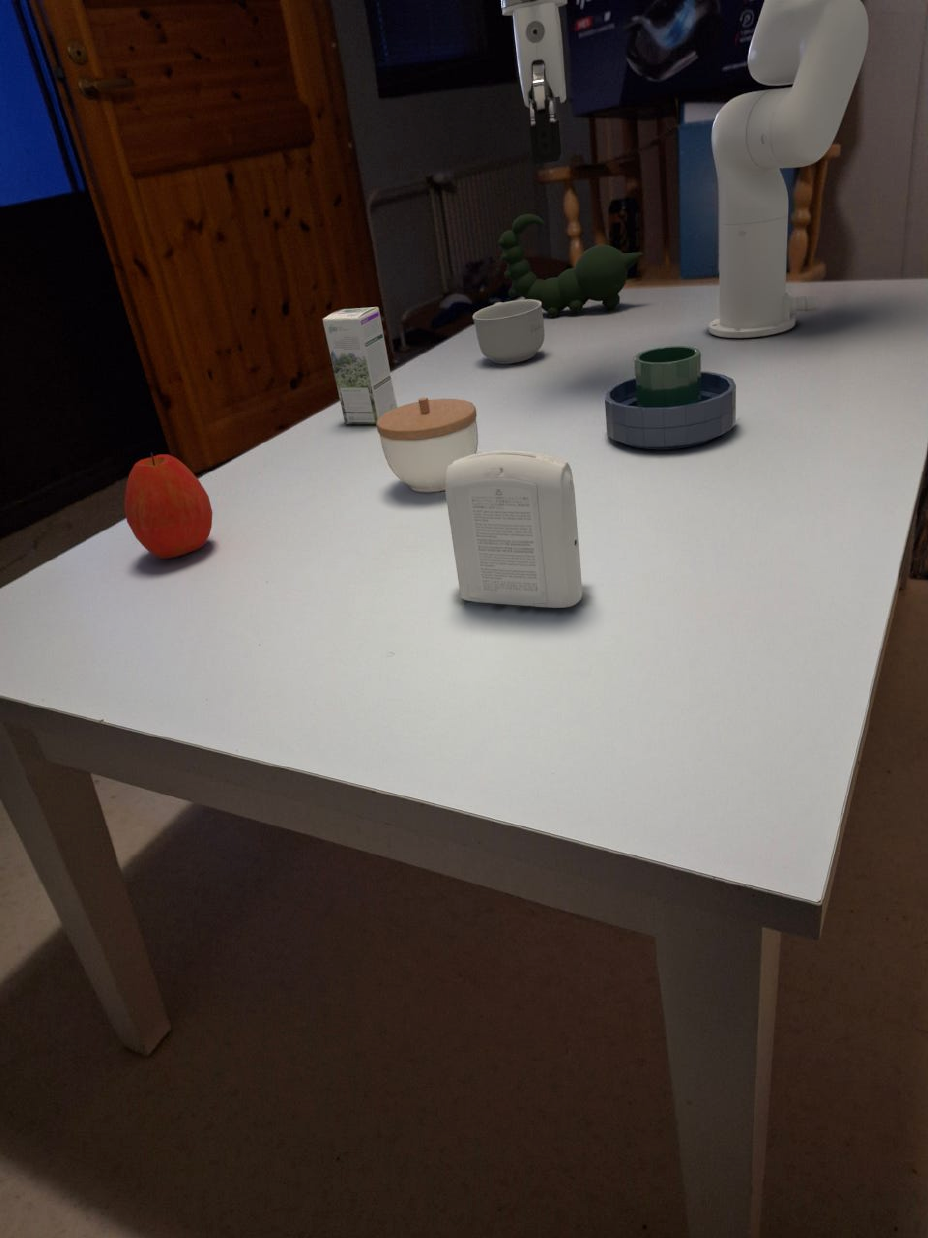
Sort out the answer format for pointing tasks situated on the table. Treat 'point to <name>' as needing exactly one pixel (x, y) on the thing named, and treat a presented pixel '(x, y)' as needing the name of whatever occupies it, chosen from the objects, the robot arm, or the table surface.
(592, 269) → the toy figurine
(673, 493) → the table surface
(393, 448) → the trinket box
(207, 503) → the apple
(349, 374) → the syrup box
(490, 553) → the photo printer
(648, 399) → the green cup
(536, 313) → the teacup
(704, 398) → the blue bowl
